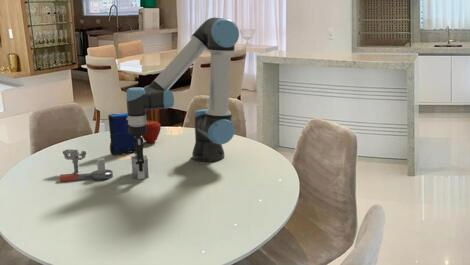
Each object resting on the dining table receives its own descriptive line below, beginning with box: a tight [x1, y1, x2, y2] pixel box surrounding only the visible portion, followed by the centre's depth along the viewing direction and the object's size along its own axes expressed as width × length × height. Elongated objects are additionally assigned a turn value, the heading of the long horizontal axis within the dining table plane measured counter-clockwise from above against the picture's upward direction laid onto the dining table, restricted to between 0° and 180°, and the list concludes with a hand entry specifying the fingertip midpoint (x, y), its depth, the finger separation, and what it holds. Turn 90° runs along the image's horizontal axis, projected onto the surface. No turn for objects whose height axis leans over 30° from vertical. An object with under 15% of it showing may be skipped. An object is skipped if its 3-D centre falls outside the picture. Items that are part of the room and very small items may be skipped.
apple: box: [141, 119, 162, 144], centre depth 292 cm, size 11×11×12 cm
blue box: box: [108, 112, 135, 156], centre depth 273 cm, size 14×5×20 cm, turn 122°
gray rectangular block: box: [130, 154, 150, 180], centre depth 239 cm, size 6×6×8 cm
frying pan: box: [59, 157, 114, 183], centre depth 237 cm, size 22×9×8 cm, turn 103°
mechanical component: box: [62, 149, 87, 174], centre depth 245 cm, size 3×10×10 cm, turn 79°
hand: (140, 173), depth 240 cm, fingers open, 13 cm apart
